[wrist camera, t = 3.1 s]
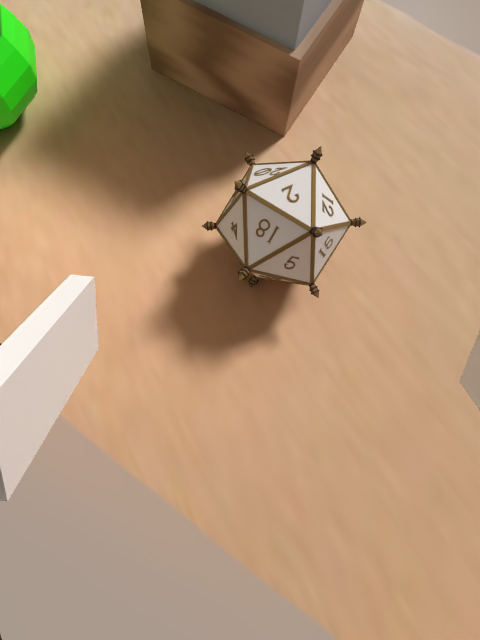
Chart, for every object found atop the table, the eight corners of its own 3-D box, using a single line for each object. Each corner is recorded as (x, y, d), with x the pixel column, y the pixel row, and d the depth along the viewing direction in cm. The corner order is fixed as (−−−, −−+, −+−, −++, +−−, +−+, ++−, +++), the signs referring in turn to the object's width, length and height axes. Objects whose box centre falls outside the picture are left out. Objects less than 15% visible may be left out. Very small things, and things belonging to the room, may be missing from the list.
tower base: (351, 38, 37) (381, -54, 30) (283, 138, 34) (300, 60, 27) (229, -20, 38) (231, -121, 32) (152, 70, 35) (136, -20, 28)
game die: (243, 282, 34) (149, 224, 26) (303, 185, 33) (224, 96, 25) (333, 338, 28) (246, 286, 20) (407, 223, 28) (346, 124, 20)
